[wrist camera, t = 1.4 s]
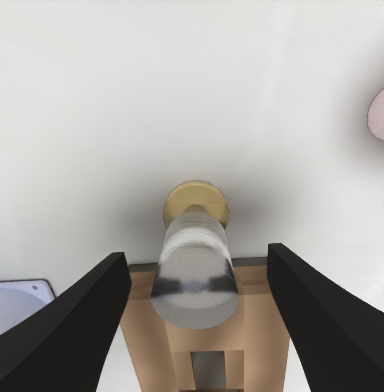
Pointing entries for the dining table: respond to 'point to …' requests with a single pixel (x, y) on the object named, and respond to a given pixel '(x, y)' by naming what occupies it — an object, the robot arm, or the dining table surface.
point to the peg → (195, 260)
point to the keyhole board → (208, 339)
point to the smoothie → (377, 116)
